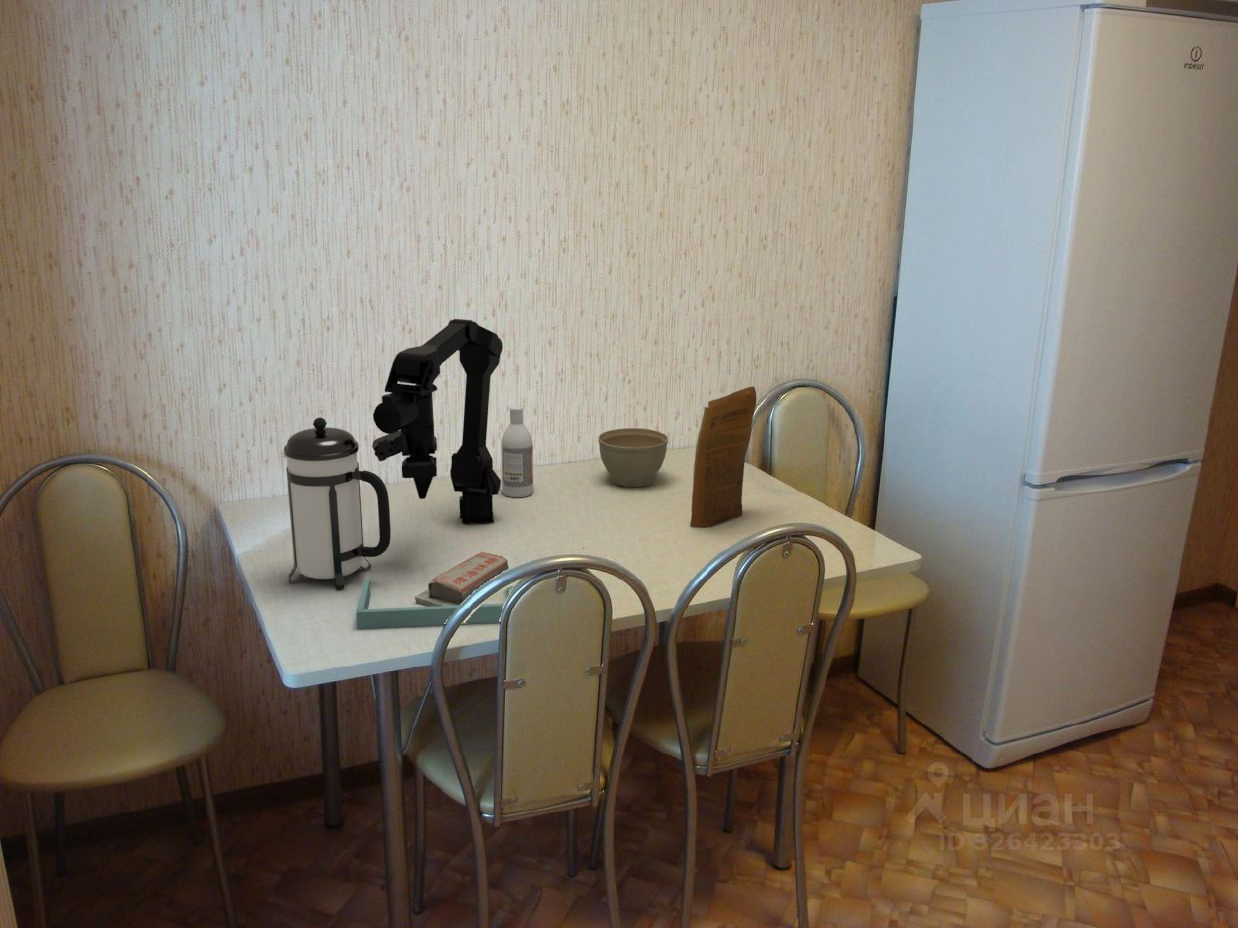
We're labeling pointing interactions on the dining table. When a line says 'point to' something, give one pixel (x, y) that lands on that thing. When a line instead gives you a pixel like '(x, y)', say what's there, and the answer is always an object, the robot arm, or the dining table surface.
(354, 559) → the coffee press
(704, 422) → the pancake mix bag
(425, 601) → the packaged product
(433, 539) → the dining table surface
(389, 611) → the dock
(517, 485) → the bath foam
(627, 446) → the planter bowl
